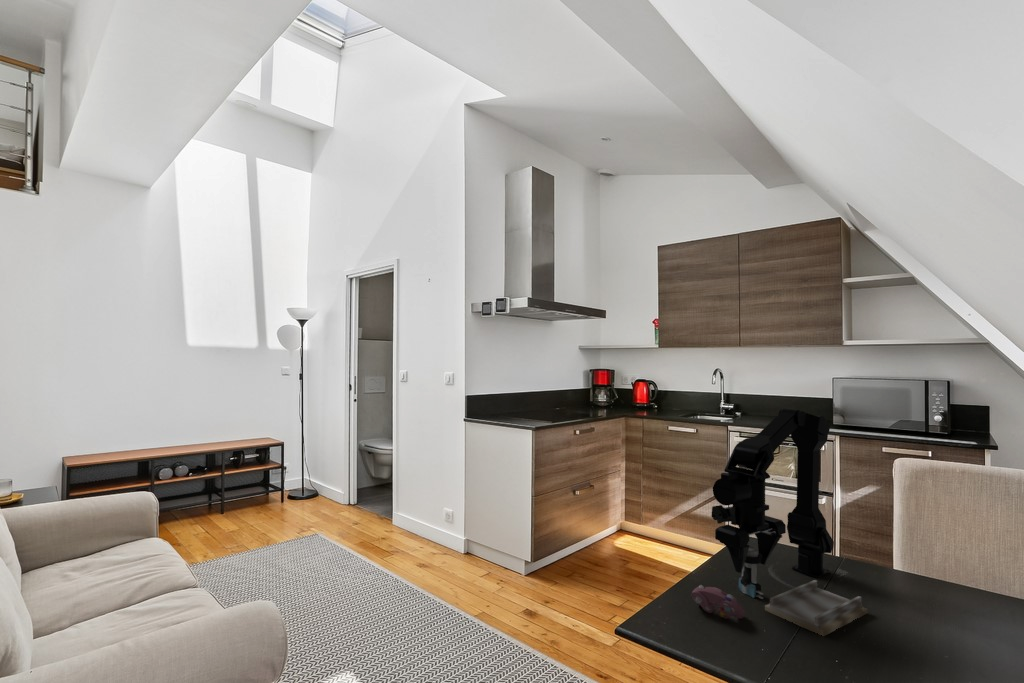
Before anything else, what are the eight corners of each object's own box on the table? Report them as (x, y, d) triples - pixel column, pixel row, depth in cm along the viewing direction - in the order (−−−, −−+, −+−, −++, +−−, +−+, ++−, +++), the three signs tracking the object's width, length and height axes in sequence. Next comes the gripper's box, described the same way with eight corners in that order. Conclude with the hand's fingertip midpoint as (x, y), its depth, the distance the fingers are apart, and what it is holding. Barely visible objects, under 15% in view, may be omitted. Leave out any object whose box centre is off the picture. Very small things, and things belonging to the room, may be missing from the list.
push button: (771, 599, 117) (772, 554, 117) (752, 602, 115) (753, 556, 115) (749, 586, 123) (750, 543, 123) (731, 589, 121) (731, 546, 122)
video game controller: (692, 614, 112) (686, 589, 110) (700, 598, 115) (694, 574, 113) (740, 632, 105) (734, 606, 103) (747, 614, 109) (742, 589, 106)
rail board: (809, 591, 121) (809, 578, 121) (867, 613, 111) (867, 599, 111) (764, 610, 111) (764, 596, 112) (823, 636, 101) (823, 620, 101)
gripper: (743, 486, 131) (742, 548, 131) (695, 495, 121) (694, 563, 121) (787, 497, 122) (786, 564, 121) (738, 508, 112) (738, 582, 111)
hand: (750, 568), depth 119 cm, fingers open, 9 cm apart
